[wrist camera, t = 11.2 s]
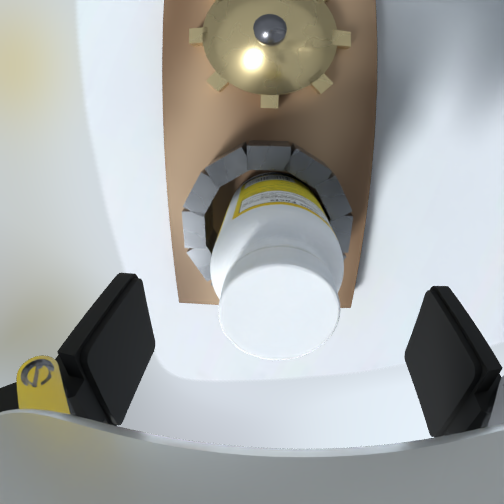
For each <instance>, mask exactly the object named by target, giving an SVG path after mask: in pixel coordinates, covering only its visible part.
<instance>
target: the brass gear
mask: <svg viewBox="0 0 504 504" xmlns="http://www.w3.org/2000/svg"><path fill="white" fill-rule="evenodd" d="M214 1H215V2H214V4H213V5H212V6H211V8H210V10H209V11H208V13H207V15H206V18H205V21H204V25H203V27H202V28H191V29H189V44H190V45H192V46H193V47H195V46H203V47H204V51H205V53H206V56H207V58H208V60H209V62H210V64H211V65H212V67H213V68H214V69H215V72H214V73H213V74H212V75H211V76H210V77H209V78H208V79H207V80H206V81H207V82H208V83H209V84H210V85H211V86H212V87H213V88H215V89H216V90H217V91H218V92H222V91H223V90H224V89H225V88H226V87H227V86H228V85H229V84H232V85H234V86H235V87H237V88H239V89H242V90H244V91H246V92H250V93H253V94H258V95H261V108H278V96H279V95H285V94H289V93H293V92H296V91H298V90H301V89H303V88H305V87H307V86H308V85H310V86H311V87H312V88H313V89H314V90H315V91H316V92H317V94H318V95H319V94H322V93H323V92H324V91H325V90H326V89H328V88H329V87H330V86H331V85H332V84H334V83H333V82H332V81H331V80H330V79H329V78H328V77H327V76H326V75H325V74H324V73H325V71H326V70H327V69H328V67H329V66H330V64H331V62H332V61H333V58H334V56H335V53H336V49H345V50H347V49H348V48H350V47H351V32H349V31H342V30H337V27H336V23H335V20H334V18H333V15H332V13H331V12H330V10H329V8H328V7H327V5H326V4H325V3H326V2H328V1H329V0H214Z"/></svg>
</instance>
